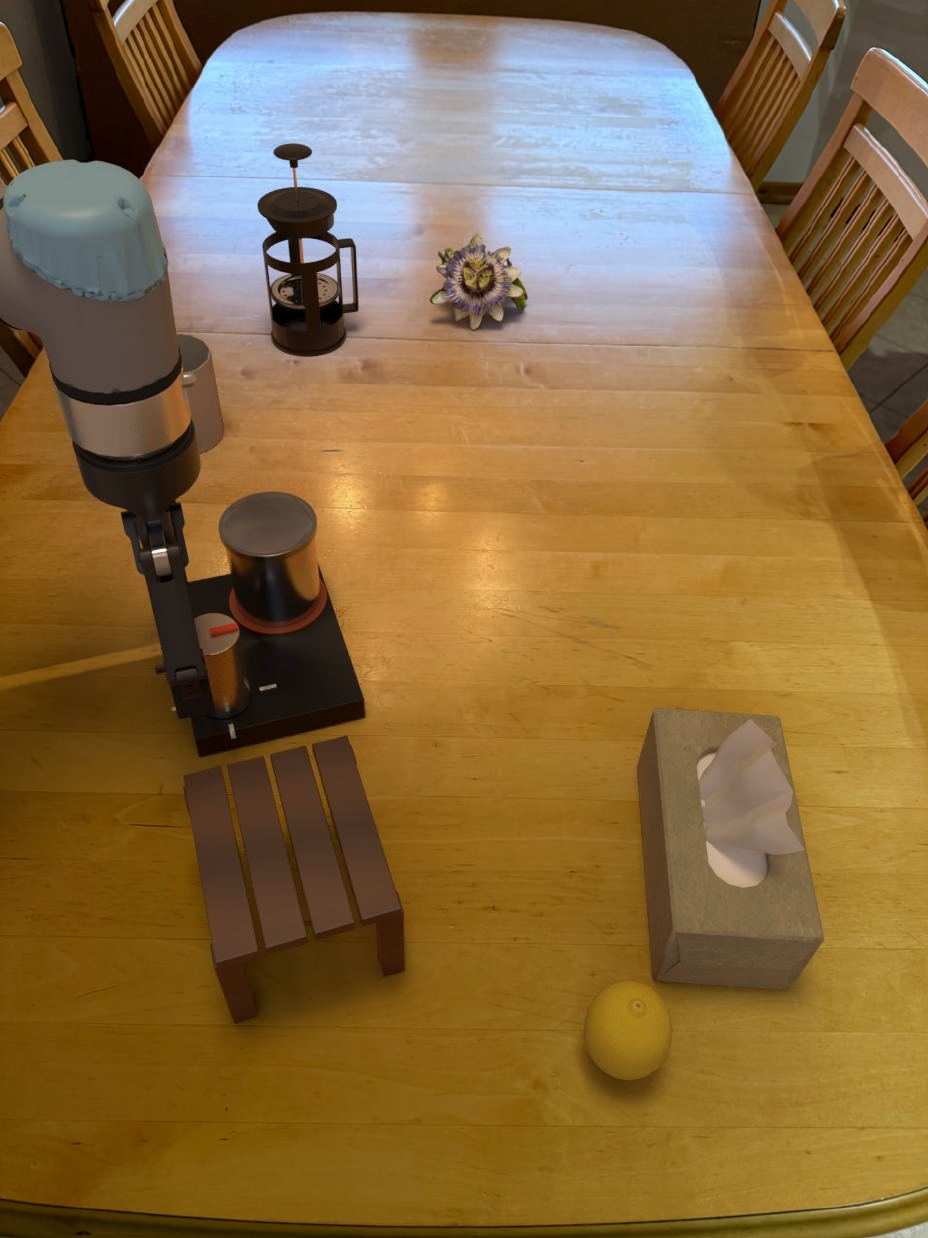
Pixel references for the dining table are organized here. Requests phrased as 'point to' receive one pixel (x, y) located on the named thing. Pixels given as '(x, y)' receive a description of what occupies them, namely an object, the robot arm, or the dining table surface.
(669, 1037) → the lemon
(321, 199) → the french press
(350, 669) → the hob
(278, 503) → the pot
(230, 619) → the hob knob
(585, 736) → the dining table surface
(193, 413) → the cup
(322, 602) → the burner
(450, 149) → the dining table surface
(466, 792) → the dining table surface
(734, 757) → the tissue box
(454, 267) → the passion flower
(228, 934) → the drying rack
